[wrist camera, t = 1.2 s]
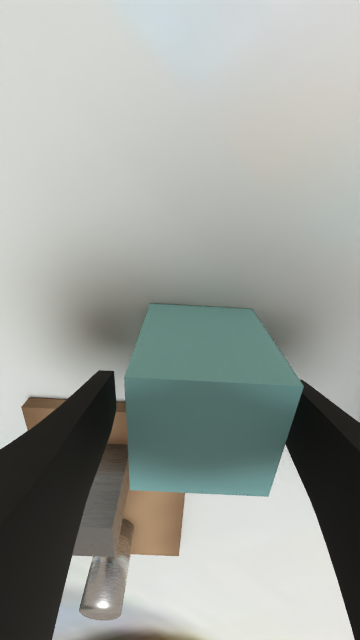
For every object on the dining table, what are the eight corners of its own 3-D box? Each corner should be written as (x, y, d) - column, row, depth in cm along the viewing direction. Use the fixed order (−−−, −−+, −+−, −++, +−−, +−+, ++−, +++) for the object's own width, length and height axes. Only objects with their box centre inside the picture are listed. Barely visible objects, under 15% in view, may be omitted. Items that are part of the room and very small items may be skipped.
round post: (133, 518, 19) (120, 603, 15) (134, 537, 20) (122, 621, 16) (99, 516, 19) (76, 601, 15) (102, 535, 20) (81, 619, 16)
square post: (130, 444, 16) (112, 528, 12) (131, 471, 17) (115, 557, 13) (89, 442, 16) (56, 526, 12) (93, 470, 17) (64, 554, 13)
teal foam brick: (252, 308, 13) (303, 386, 7) (237, 389, 15) (268, 496, 9) (150, 303, 13) (124, 377, 7) (149, 385, 15) (129, 490, 9)
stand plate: (191, 405, 15) (192, 415, 15) (178, 544, 22) (178, 556, 21) (29, 397, 15) (21, 407, 15) (65, 539, 22) (61, 550, 21)
